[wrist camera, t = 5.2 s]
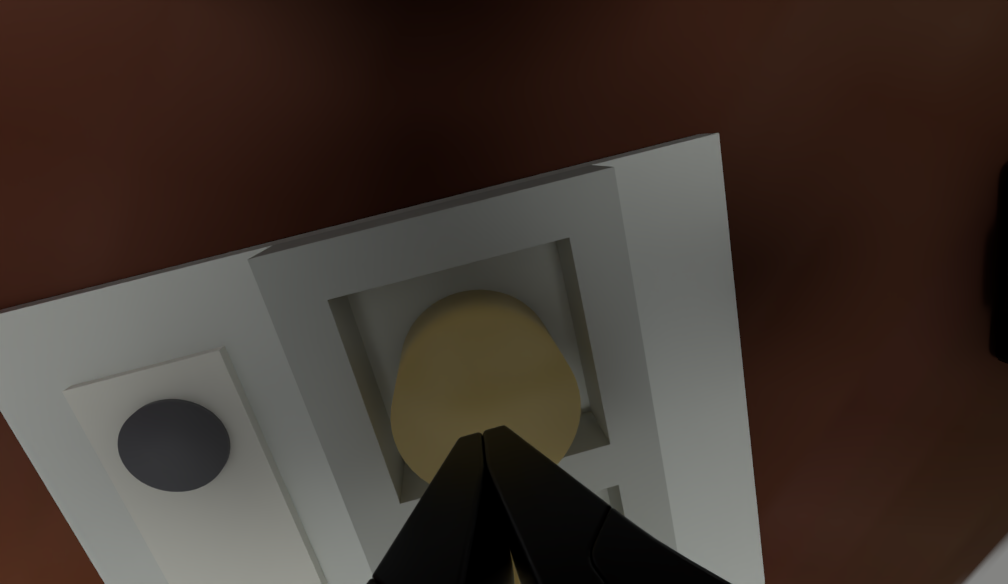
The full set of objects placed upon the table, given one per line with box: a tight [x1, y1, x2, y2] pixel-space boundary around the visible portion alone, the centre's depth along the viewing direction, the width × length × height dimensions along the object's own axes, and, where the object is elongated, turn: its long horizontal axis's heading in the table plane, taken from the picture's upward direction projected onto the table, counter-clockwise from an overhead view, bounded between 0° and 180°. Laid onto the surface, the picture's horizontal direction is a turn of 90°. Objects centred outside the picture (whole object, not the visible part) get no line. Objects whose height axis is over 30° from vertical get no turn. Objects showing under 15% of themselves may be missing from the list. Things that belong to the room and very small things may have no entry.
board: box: [0, 133, 765, 584], centre depth 14 cm, size 18×20×3 cm
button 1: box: [390, 290, 581, 484], centre depth 11 cm, size 4×4×3 cm
